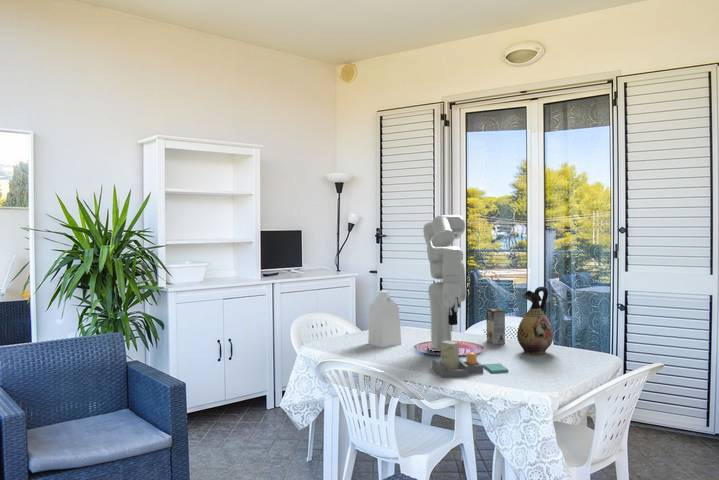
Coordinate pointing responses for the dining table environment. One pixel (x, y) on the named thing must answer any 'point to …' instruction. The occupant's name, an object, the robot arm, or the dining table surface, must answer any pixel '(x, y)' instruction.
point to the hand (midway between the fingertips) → (452, 324)
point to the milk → (384, 321)
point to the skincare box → (450, 355)
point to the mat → (495, 368)
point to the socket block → (462, 371)
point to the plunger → (471, 358)
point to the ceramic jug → (535, 325)
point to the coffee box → (495, 325)
